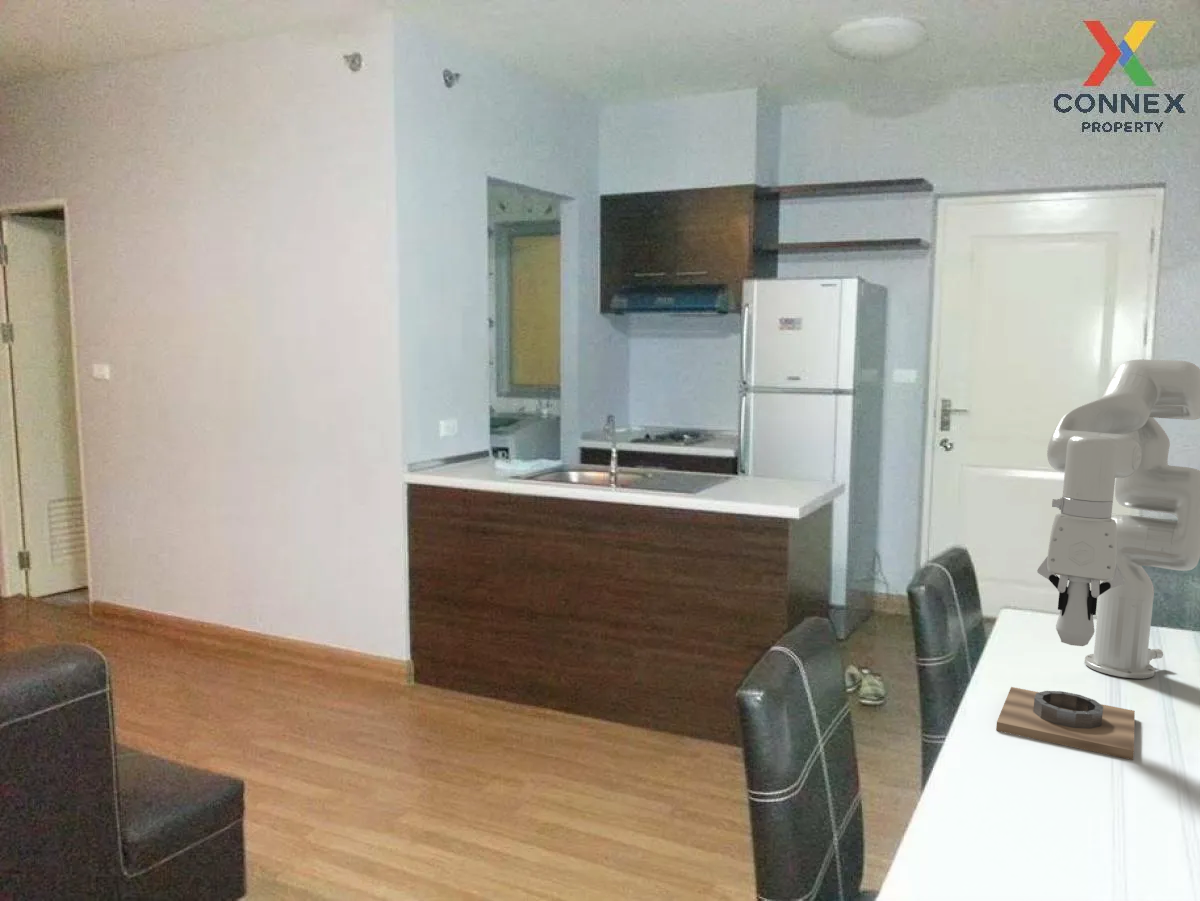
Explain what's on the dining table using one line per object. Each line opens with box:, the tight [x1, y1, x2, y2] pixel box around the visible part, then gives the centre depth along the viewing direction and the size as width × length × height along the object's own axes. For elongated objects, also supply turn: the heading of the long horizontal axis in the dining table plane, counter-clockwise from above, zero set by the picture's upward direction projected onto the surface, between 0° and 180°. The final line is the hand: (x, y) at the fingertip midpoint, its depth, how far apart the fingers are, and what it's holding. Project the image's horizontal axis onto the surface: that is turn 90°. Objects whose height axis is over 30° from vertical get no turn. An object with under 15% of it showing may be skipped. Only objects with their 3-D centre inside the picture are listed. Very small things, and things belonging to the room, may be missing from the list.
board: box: [995, 686, 1136, 761], centre depth 160 cm, size 20×20×2 cm
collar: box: [1033, 690, 1103, 729], centre depth 160 cm, size 10×10×2 cm
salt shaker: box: [1055, 576, 1095, 647], centre depth 158 cm, size 6×6×13 cm
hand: (1076, 615), depth 158 cm, fingers closed on salt shaker, 3 cm apart
